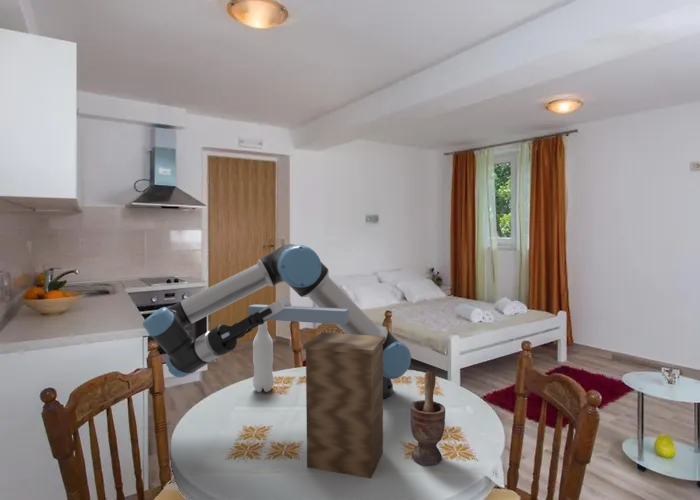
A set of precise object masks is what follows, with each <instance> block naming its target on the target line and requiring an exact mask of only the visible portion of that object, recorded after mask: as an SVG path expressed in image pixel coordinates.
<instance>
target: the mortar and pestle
mask: <svg viewBox="0 0 700 500" xmlns="http://www.w3.org/2000/svg"><path fill="white" fill-rule="evenodd" d="M435 387H436V373H435V372H434V371H425V373H424V394H425V395H424V399H423V400H421V399H420V400H416V401H413V402H411V403H410V406H409V414H410V418H409V421H410V428H411V433H412V437H413V438H414V440H415V441H416V442H417V445H416V446H414V448H413V449H412V452H411V457H412V459H413V460H414V461H415V462H416V463H418V464H420V465H421V466H431V465H437V464H440V463H441V462H442V460H443V456H442V453H441V451H440V449H439V448H438V446H437V445H438V443H439V442H440V441H441V440H442V438H443V435H444V431H445V427H446V407H445V405H443V404H441V403H439V402H437V401H434V391H435Z"/></svg>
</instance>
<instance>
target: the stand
mask: <svg viewBox="0 0 700 500" xmlns="http://www.w3.org/2000/svg"><path fill="white" fill-rule="evenodd" d="M384 341H385V336H371V335H357V334H345V333H344V332H343V333H342V332H341V333H340V332H326V331H322V332H320V333H319V334H317V335H316V336H314V337H312V338H311V339H309V340H308V341H307V342H305V343H303V344H302V349H303V350H305V375H306V376H305V381H306V383H305V385H306V386H305V387H306V388H305V391H306V392H305V393H306V397H305V399H306V401H305V402H306V406H305V407H306V408H305V409H306V410H305V411H306V412H305V413H306V468H307V469H308V468H309V469H315V470H320V471H326V472H332V473H333V472H334V473H337V474H344V475H349V476H357V477H361V478H367V479H372V478H373V476H374V474H375V471H376V470H377V467H378V465H379V462H380V460H381V458H382V456H383V453H384V398H383V342H384Z"/></svg>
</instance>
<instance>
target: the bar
mask: <svg viewBox="0 0 700 500" xmlns="http://www.w3.org/2000/svg"><path fill="white" fill-rule="evenodd" d="M269 305H270V304H258V303H257V304H251V305H248V310H247V311H248V312H247V313H248V315H247V317H249V315H254V314H255V313H256V312H259V311H260V310H262V309H263V308H265V307H267V306H269ZM259 313H260V312H259ZM262 319H263V318H262ZM266 320H267V321H282V322H298V323H300V322H301V323H314V324H330V325H336V324H344V325H345V324H347V323H348V322H349V309H339V308H319V307H318V306H316V307H315V306H299V305H297V306H296V305H292V306H285V309H283V310H282V311H280V312H278V313H277V314H275V315H273V316H271V317H270V318H268V319H266Z"/></svg>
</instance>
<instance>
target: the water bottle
mask: <svg viewBox="0 0 700 500" xmlns="http://www.w3.org/2000/svg"><path fill="white" fill-rule="evenodd" d="M268 328H269V327H268V320H267V321H265V322H264V324H262V325H258V326H257V332H256V334H255V337H254V339H253V342H252V357H253V358H252V363H253V379H252V384H253V388H254V390H255V392H257V393H262V391H264V392H265V393H267V392H270V391H271V390H272V388H273V386H274V383H275V381H274V380H275V379H274V375H273V362H274V348H273V347H274V346H273V345H274V342H273V341H274V340H273V338H272V336H271V335H270V332H269V330H268Z"/></svg>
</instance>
